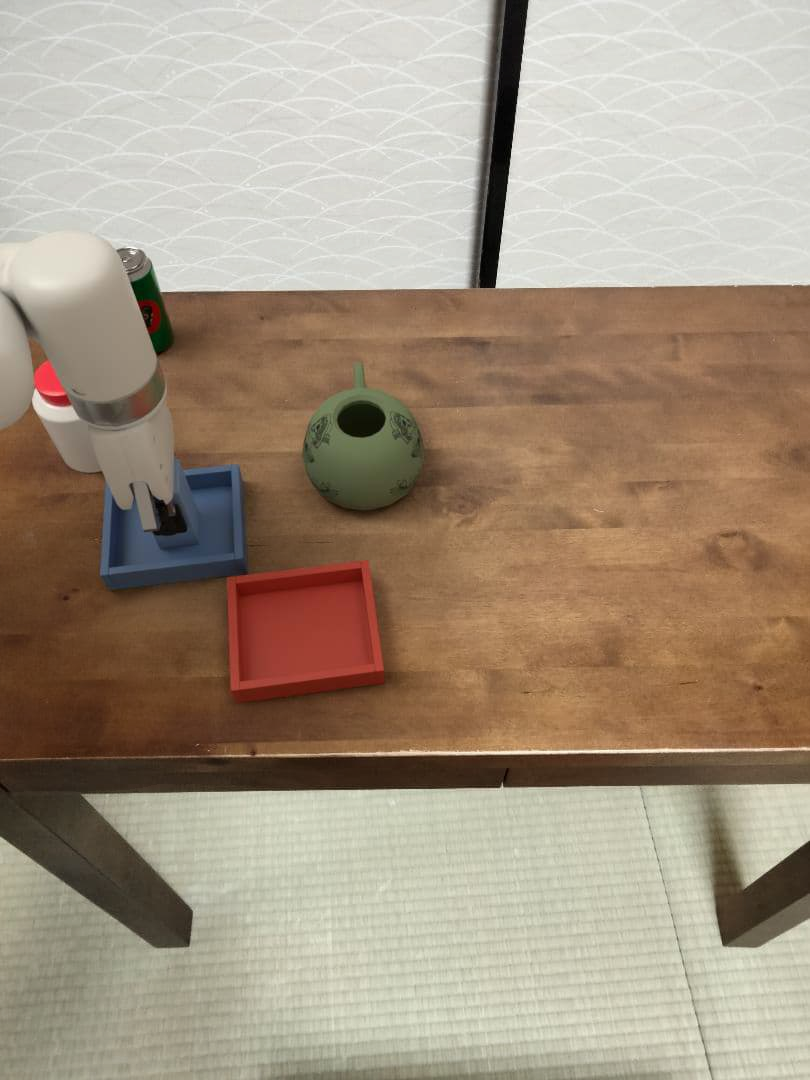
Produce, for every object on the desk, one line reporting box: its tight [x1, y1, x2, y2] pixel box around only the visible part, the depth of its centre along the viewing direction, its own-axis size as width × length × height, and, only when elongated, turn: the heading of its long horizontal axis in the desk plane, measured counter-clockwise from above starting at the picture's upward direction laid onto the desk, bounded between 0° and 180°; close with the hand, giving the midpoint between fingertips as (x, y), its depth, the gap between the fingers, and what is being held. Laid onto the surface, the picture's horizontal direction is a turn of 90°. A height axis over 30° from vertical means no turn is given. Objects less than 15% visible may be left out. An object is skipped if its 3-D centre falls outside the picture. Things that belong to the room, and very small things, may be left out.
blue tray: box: [99, 463, 249, 591], centre depth 83 cm, size 14×12×3 cm
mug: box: [301, 361, 426, 511], centre depth 85 cm, size 16×13×9 cm
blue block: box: [135, 458, 199, 549], centre depth 80 cm, size 4×4×9 cm
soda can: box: [115, 246, 175, 354], centre depth 93 cm, size 5×5×12 cm
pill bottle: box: [31, 359, 102, 474], centre depth 85 cm, size 8×8×11 cm
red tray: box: [226, 559, 386, 704], centre depth 76 cm, size 14×12×3 cm
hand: (171, 510), depth 80 cm, fingers open, 4 cm apart
